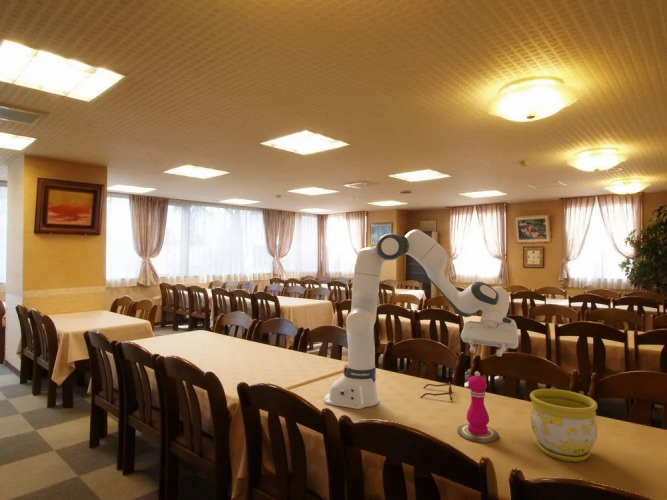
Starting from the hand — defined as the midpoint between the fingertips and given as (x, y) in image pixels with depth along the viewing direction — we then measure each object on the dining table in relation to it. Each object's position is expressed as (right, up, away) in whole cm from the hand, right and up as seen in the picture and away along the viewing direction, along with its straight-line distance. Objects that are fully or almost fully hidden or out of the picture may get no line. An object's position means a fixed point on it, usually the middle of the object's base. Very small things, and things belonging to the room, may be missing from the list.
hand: (485, 353), depth 146 cm
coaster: (-7, -24, -11) cm, 28 cm away
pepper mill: (-7, -23, -11) cm, 27 cm away
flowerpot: (+15, -24, -24) cm, 37 cm away
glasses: (-11, -26, +28) cm, 40 cm away
